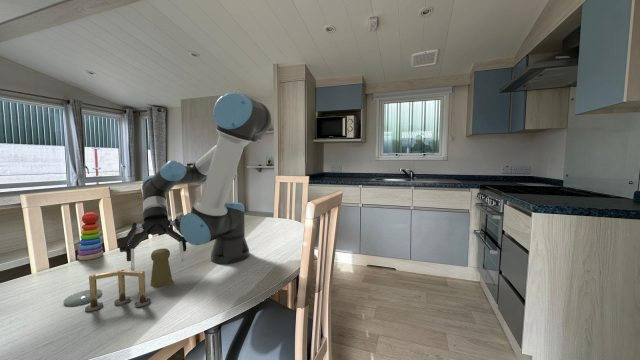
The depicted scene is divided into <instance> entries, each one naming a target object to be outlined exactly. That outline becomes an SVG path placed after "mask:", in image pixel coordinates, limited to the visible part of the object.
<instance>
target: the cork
mask: <svg viewBox="0 0 640 360" xmlns="http://www.w3.org/2000/svg"><path fill="white" fill-rule="evenodd" d="M170 256H171V252H170V250H169V249H168V248H157V249H155V250H153V251H152V252H151V253H150V259H151V261H152V268H151V269H152V270H151V277H150V286H151V288H152V287H153V288H159V287H165V286H167V285H169V284H170V283H172V282H173V277H172V271H171V266H170V262H169V258H170Z"/></svg>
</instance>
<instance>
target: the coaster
mask: <svg viewBox="0 0 640 360" xmlns="http://www.w3.org/2000/svg"><path fill="white" fill-rule="evenodd" d="M102 294H103V291H102V290H101V289H100V288H99V289H98V288H97V299H99V298H100V297H101V296H102ZM88 303H90V289H86V290H82V291H79V292H76V293H73V294H71V295H68V296H67V297H66V298H65V299H64V300H63V305H64V306H65V307H77V306H81V305H85V304H88Z"/></svg>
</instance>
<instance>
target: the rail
mask: <svg viewBox="0 0 640 360" xmlns="http://www.w3.org/2000/svg"><path fill="white" fill-rule="evenodd" d="M125 276H127V277H136V278H137V277H138V292H139V293H138V294H139V299H138V300H137V301H135V303H134V308H144V307H147V306H148V305H150V304H151V302H152V301H151V298H149V297H147V296H146V274H145V271H144V270H143V271H141V270H140V271H139V270H138V271H137V270H134V271H131V270H127V269H119V270H115V271H109V272H104V273H97V274H91V275H89V276H88V283H89V290H90V302H89V303H90V304H88V305H87V306H86V307H85V308H84V311H85V313H92V312H93V313H94V312H96V311H99V310H100V309H102V308H103V307H104V302H101V301H99V302H98V298H97V289H98V286H97V284H98V283H97V280H101V279H105V278H112V277H117V280H118V281H117V282H118V298H117V299H115V300H114V302H113V304H114V306H117V307H118V306H122V305H125V304H129V303H130V302H131V297H130V296H127V295H126V279H125V278H126V277H125Z"/></svg>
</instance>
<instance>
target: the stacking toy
mask: <svg viewBox="0 0 640 360" xmlns="http://www.w3.org/2000/svg"><path fill="white" fill-rule="evenodd" d="M99 218H100V217H99V215H98V214H97V213H96V212H93V211H89V212H86V213H84V214H83V215H82V217H81V222H82V223H83V225H82V226H81V229H82V230H81V231H80V233H81V235H80V240H79V245H78V251H77V259H78V260H79V261H89V260H94V259H95V260H96V259H98V258H100V257H102V256H103V255H104V251H103V243H102V241H101V240H102V238H101V237H100V236H101V233H100V228H99V227H100V225H99V224H98V223H97V222H98V221H99Z"/></svg>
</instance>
